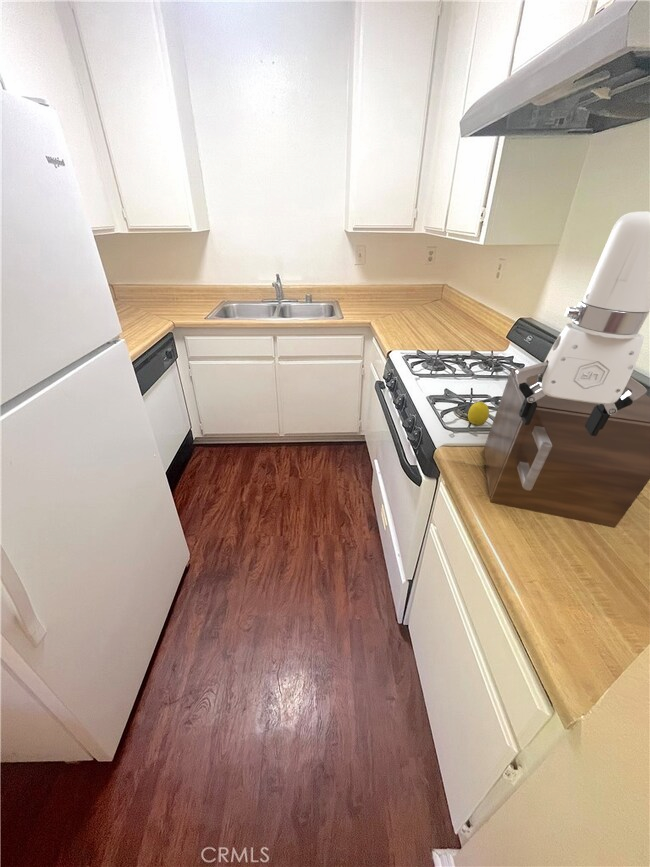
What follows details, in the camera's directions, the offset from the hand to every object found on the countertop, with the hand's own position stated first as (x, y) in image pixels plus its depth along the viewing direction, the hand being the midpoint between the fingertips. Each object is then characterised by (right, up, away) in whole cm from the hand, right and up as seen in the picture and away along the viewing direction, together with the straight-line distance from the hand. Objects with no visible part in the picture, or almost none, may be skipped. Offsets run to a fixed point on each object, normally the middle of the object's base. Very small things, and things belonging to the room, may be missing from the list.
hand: (556, 426), depth 56 cm
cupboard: (+13, -13, +25) cm, 31 cm away
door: (+9, -20, +15) cm, 26 cm away
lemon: (+7, +1, +47) cm, 47 cm away
